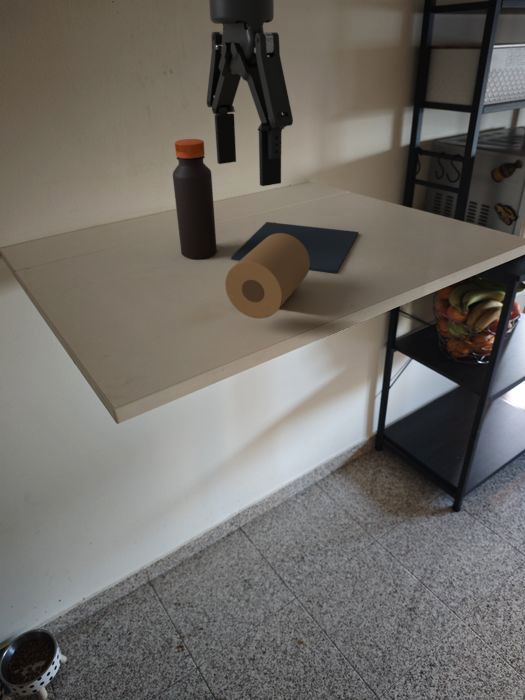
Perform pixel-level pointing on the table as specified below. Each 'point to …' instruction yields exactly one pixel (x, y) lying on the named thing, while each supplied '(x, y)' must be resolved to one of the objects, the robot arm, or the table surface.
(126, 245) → the table surface
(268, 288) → the paper roll
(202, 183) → the bottle
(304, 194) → the table surface
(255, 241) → the slate mat
